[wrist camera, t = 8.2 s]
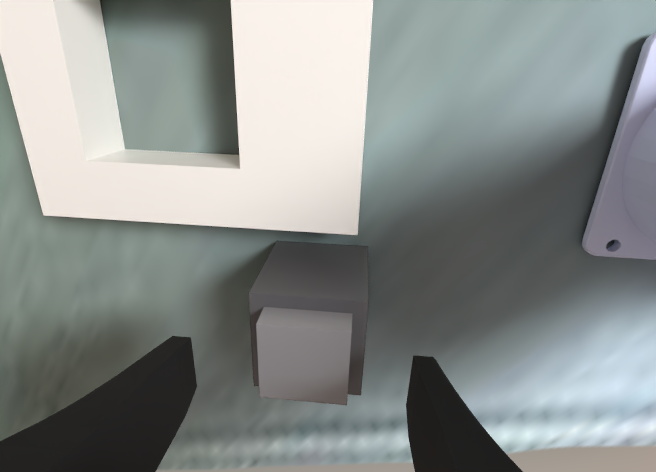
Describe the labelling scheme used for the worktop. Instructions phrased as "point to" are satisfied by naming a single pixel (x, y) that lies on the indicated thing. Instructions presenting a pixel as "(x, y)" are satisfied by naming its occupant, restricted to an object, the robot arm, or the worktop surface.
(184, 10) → the worktop surface
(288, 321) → the plug
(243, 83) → the socket plate
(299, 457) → the worktop surface
